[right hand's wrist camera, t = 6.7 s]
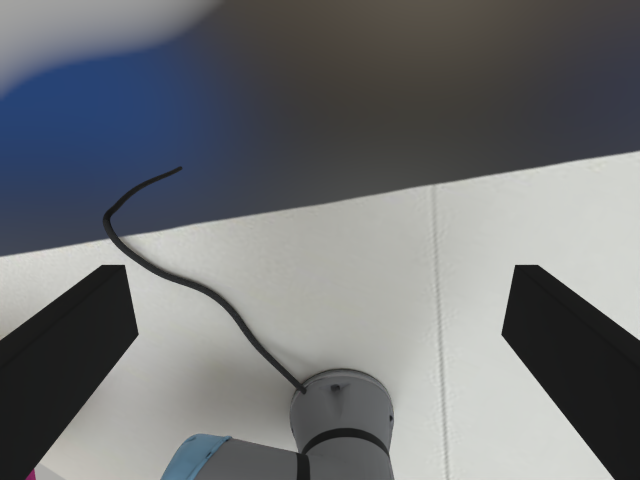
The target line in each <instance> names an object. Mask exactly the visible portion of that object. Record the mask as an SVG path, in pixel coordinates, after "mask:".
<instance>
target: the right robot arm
mask: <svg viewBox="0 0 640 480" xmlns="http://www.w3.org/2000/svg"><path fill="white" fill-rule="evenodd" d="M181 170H182V167H181V166H179V167H177V168H175V169H173V170H171V171H169V172H167V173H164V174H161V175H159V176H156V177H154V178H151V179H149V180H147V181H144V182H142V183H140V184H139V185H137V186H135V187H134V188H132V189H131V190H129V191H128V192H127V193H126V194H124V195H123V196H122V197H121V198H120V199H119V200H118V201H117V202H116V203H115V204H114V205H113V206H112V207H111V208H110V209H108V210H107V211H106V213H105V214H104V216H103V225H104V228H105V230H106V232H107V234H108V236H109V237H110V239H111V240H112V242H113V243H114V244H115V245H116V246H117V247H118V248H119V249H120V250H121V251H122V252H124V253H125V254H126V255H127V256H129V257H130V258H131V259H133V260H134V261H136V262H137V263H138V264H140V265H141V266H143V267H144V268H146V269H147V270H149V271H151V272H152V273H154V274H156V275H158V276H160V277H162V278H164V279H167V280H170V281H172V282H175V283H178V284H181V285H184V286H187V287H190V288H193V289H195V290H198V291H200V292H202V293H204V294H206V295H208V296H209V297H211V298H212V299H214V300H215V301H216V302H218V303H219V304H220V305H221V306H222V307H223V308H224V309H225V310H226V311H227V312H228V313H229V314H230V315H231V316H232V318H233V319H234V320H235V322H236V323H237V324H238V326H239V327H240V329H241V330H242V332H243V333H244V334H245V336H246V337H247V338H248V340H249V341H250V342H251V344H252V345H253V346H254V347H255V348H256V349H257V350H258V351H259V352H260V354H261V355H262V356H263V357H264V358H265V359H267V360H268V361H269V362H270V363H271V364H272V365H273V366H274V367H275V368H276V369H277V370H278V371H279V372H280V373H281V374H282V375H283V376H284V377H285V378H287V379H288V380H289V381H290V382H291V383H292V384H293V385H294V386H295V387H296V388H297V389H298V390H297V391H296V393H295V394H294V396H293V399H292V402H291V408H290V425H291V430H292V433H293V436H294V438H295V440H296V444H297V448H298V452H299V453H296V452H293V451H288V450H283V449H278V448H274V447H269V446H264V445H260V444H255V443H251V442H247V441H242V440H238V439H234V438H232V437H231V436H226V437H221V436H214V435H208V434H196V435H193V436H191V437H189V438H188V439H187V440H186V441H184V443H183V444H182V445H181V446H180V447H179V449H178V450H177V452H176V453H175V455H174V456H173V458H172V459H171V461H170V463H169V465H168V466H167V468H166V470H165V472H164V474H163V476H162V478H161V480H394V475H393V471H392V466H391V461H390V456H389V449H390V443H391V437H392V430H393V424H394V411H393V406H392V402H391V399H390V396H389V394H388V392H387V390H386V389H385V388H384V386H383V385H382V384H381V383H380V382H378V381H377V380H376V379H374V378H373V377H371V376H369V375H367V374H364V373H361V372H358V371H353V370H331V371H327V372H323V373H320V374H318V375H315V376H313V377H312V378H310V379H308V380H307V381H306V382H304V383H303V384H302V385H301V384H300V383H299V382H298V381H297V380H296V379H295V378H294V377H293V376H292V375H291V374H290V373H289V372H288V371H287V370H286V369H285V368H284V367H283V366H282V365H280V364H279V363H278V362H277V361H276V360H275V359H274V358H273V357H272V356H271V355H270V354H269V353H268V352H267V351H266V350H265V349H264V348H263V347H262V346H261V345H260V344H259V343H258V341H257V340H256V339H255V338H254V336H253V335H252V334H251V332H250V331H249V330H248V328H247V327H246V325H245V324H244V322H243V321H242V319H241V318H240V317H239V315H238V314H237V313H236V311H235V310H234V309H233V308H232V307H231V306H230V305H229V304H228V303H227V302H226V301H225V300H224V299H223V298H221V297H220V296H219V295H217V294H216V293H215V292H213V291H211V290H210V289H208V288H206V287H204V286H202V285H199V284H197V283H195V282H192V281H189V280H186V279H183V278H180V277H177V276H174V275H171V274H169V273H166V272H164V271H162V270H160V269H158V268H156V267H155V266H153V265H151V264H150V263H148V262H147V261H145V260H144V259H143V258H141V257H140V256H138V255H137V254H136V253H134V252H133V251H132V250H130V249H129V248H128V247H127V246H126V245H125V244H124V243H123V242H122V241H121V240H120V239H119V238H118V237H117V235H116V234H115V232H114V231H113V229H112V227H111V223H110V218H111V216H112V215H113V214H114V213H115V212H116V211H117V210H118V209H119V208H120V207H121V206H122V205H123V204H124V203H125V202H126V201H127V200H128V199H129V198H130V197H131V196H132V195H134V194H135V193H136V192H138V191H139V190H141V189H142V188H144V187H146V186H148V185H150V184H152V183H154V182H156V181H159V180H161V179H164V178H166V177H168V176H171V175H173V174H175V173H177V172H179V171H181ZM138 335H139V334H138V329H137V324H136V319H135V314H134V309H133V304H132V299H131V294H130V289H129V284H128V279H127V274H126V269H125V265H101V266H100V267H99V268H97V269H96V270H95V271H93V272H92V273H91V274H89V275H88V276H86V277H85V278H84V279H82V280H81V281H80V282H78V283H77V284H76V285H74V286H73V287H72V288H70V289H69V290H68V291H66V292H65V293H64V294H62V295H61V296H60V297H58V298H57V299H56V300H54V301H53V302H52V303H50V304H49V305H48V306H46V307H45V308H43V309H42V310H41V311H39V312H38V313H37V314H35V315H34V316H33V317H31V318H30V319H29V320H27V321H26V322H25V323H23V324H22V325H21V326H19V327H18V328H17V329H15V330H14V331H13V332H11V333H10V334H9V335H7V336H6V337H5V338H3V339H2V340H0V480H25V479H26V478H27V477H28V476H29V474H30V473H31V472H32V470H33V469H34V468H35V467H36V465H37V464H38V463H39V461H40V460H41V459H42V458H43V456H44V455H45V454H46V453H47V451H48V450H49V449H50V447H51V446H52V445H53V444H54V442H55V441H56V440H57V438H58V437H59V436H60V435H61V433H62V432H63V431H64V429H65V428H66V427H67V426H68V424H69V423H70V422H71V421H72V419H73V418H74V417H75V415H76V414H77V413H78V412H79V410H80V409H81V408H82V406H83V405H84V404H85V403H86V401H87V400H88V399H89V398H90V396H91V395H92V394H93V392H94V391H95V390H96V389H97V387H98V386H99V385H100V383H101V382H102V381H103V380H104V378H105V377H106V376H107V374H108V373H109V372H110V371H111V369H112V368H113V367H114V366H115V364H116V363H117V362H118V360H119V359H120V358H121V357H122V355H123V354H124V353H125V351H126V350H127V349H128V348H129V346H130V345H131V344H132V343H133V341H134V340H135V339H136V337H137V336H138ZM501 335H502V336H503V337H504V339H505V340H506V341H507V343H508V344H509V345H510V346H511V348H512V349H513V350H514V351H515V353H516V354H517V355H518V357H519V358H520V359H521V360H522V362H523V363H524V364H525V366H526V367H527V368H528V369H529V371H530V372H531V373H532V374H533V376H534V377H535V378H536V380H537V381H538V382H539V383H540V385H541V386H542V387H543V389H544V390H545V391H546V392H547V394H548V395H549V396H550V398H551V399H552V400H553V401H554V403H555V404H556V405H557V406H558V408H559V409H560V410H561V412H562V413H563V414H564V415H565V417H566V418H567V419H568V421H569V422H570V423H571V424H572V426H573V427H574V428H575V429H576V431H577V432H578V433H579V435H580V436H581V437H582V438H583V440H584V441H585V442H586V444H587V445H588V446H589V447H590V449H591V450H592V451H593V453H594V454H595V455H596V456H597V458H598V459H599V460H600V461H601V463H602V464H603V465H604V467H605V468H606V469H607V470H608V472H609V473H610V474H611V476H612V477H613V478H614V479H615V480H640V340H638V339H637V338H635V337H634V336H633V335H631V334H630V333H629V332H627V331H626V330H625V329H623V328H622V327H621V326H619V325H618V324H617V323H615V322H614V321H613V320H611V319H610V318H609V317H607V316H606V315H605V314H603V313H602V312H601V311H599V310H598V309H597V308H595V307H594V306H592V305H591V304H590V303H588V302H587V301H586V300H584V299H583V298H582V297H580V296H579V295H578V294H576V293H575V292H574V291H572V290H571V289H570V288H568V287H567V286H566V285H564V284H563V283H562V282H560V281H559V280H558V279H556V278H555V277H554V276H552V275H551V274H549V273H548V272H547V271H545V270H544V269H543V268H541V267H540V266H539V265H515V269H514V274H513V279H512V284H511V289H510V294H509V299H508V304H507V309H506V314H505V319H504V324H503V329H502V334H501Z"/></svg>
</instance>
